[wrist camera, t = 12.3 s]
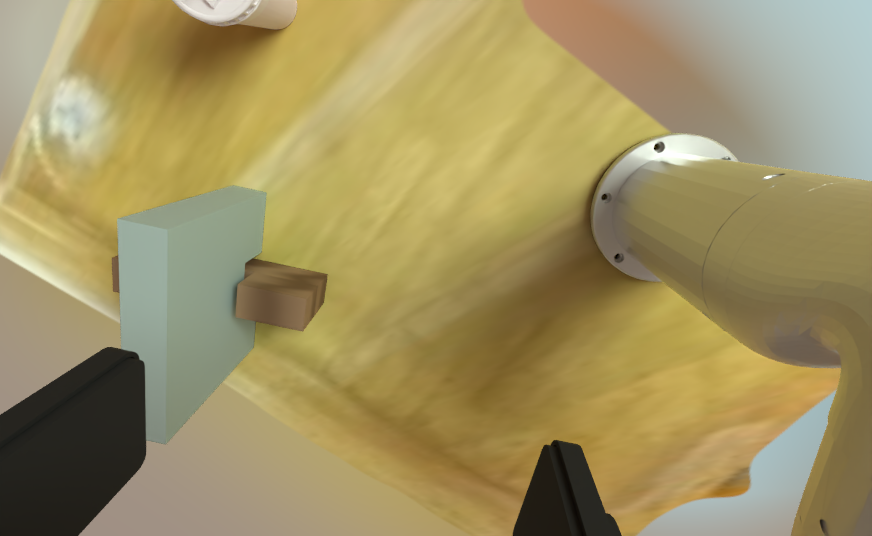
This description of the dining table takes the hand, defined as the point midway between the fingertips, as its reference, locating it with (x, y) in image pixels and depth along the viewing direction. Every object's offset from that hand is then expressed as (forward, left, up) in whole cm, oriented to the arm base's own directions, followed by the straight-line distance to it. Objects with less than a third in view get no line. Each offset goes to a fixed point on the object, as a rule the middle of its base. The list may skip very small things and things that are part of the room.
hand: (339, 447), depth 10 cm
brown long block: (+16, +10, -30) cm, 36 cm away
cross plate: (+16, +10, -30) cm, 36 cm away
